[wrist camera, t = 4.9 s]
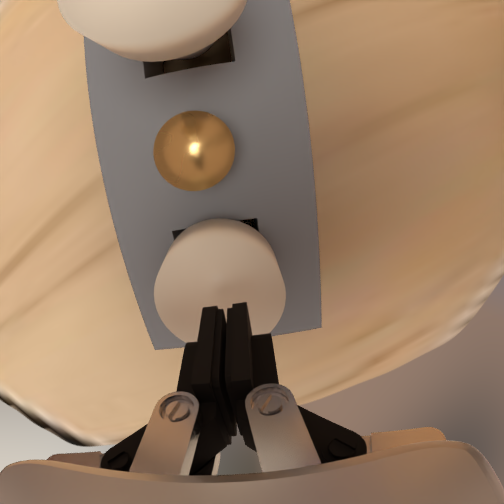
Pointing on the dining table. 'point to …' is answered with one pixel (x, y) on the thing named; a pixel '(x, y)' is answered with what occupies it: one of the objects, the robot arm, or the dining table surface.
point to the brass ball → (194, 150)
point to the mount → (241, 172)
